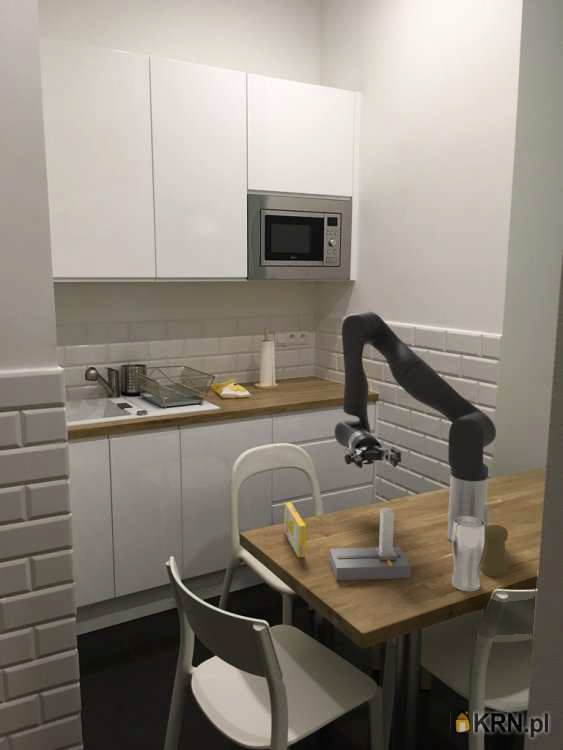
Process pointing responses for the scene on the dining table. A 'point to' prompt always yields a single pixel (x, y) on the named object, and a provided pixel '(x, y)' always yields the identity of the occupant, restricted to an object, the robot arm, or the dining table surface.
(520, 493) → the dining table surface
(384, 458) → the robot arm
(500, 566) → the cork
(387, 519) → the slider tab
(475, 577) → the beer glass
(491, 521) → the dining table surface
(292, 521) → the candy box
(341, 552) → the fader console
